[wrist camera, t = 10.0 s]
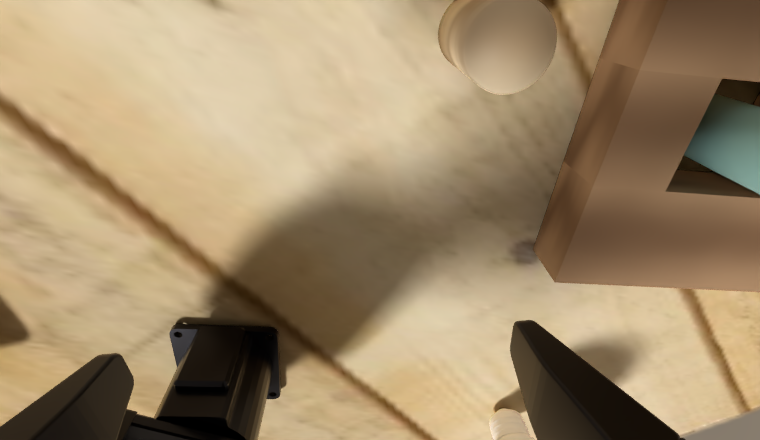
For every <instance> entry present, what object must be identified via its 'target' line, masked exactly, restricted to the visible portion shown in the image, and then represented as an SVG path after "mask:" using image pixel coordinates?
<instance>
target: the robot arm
mask: <svg viewBox="0 0 760 440" xmlns="http://www.w3.org/2000/svg"><path fill="white" fill-rule="evenodd" d="M179 332H180V333H179ZM269 335H272V336H269ZM170 338H171V343H172V347H173V351H174V356H175V360H176V365H177V370H176V372H175V374H174V376H173V378H172V380H171V383H170V385H169V387H168V389H167V391H166V393H165V395H164V397H163V400H162V402H161V404H160V406H159V408H158V410H157V412H156V414H155V417H154V418H151V417H147V416H143V415H139V414H137V412H136V411H132V410H128V409H127V405H128V402H129V399H130V396H131V393H132V390H133V385H134V379H133V376H132V374H131V372H130V370H129V368H128V366H127V364H126V363H125V361H124V359H123V357H122V356H121V355H120V354H117V353H113V354H102V355H99V356H97V357H95V358H94V359H92V360H91V361H90V362H88V363H87V364H85V365H84V366H83V367H81V368H80V369H79V370H77V371H76V372H75V373H73V374H72V375H70V376H69V377H68V378H66V379H65V380H64V381H62V382H61V383H60V384H58V385H57V386H55V387H54V388H53V389H51V390H50V391H49V392H47V393H46V394H45V395H43V396H42V397H40V398H39V399H38V400H36V401H35V402H34V403H32V404H31V405H30V406H28V407H27V408H25V409H24V410H23V411H21V412H20V413H19V414H17V415H16V416H15V417H13V418H12V419H10V420H9V421H8V422H6V423H5V424H4V425H2V426H1V427H0V440H258V435H259V431H260V426H261V422H262V417H263V413H264V408H265V404H266V399H276V398H278V397H279V396H280V392H281V378H280V353H279V332H278V330H277V329H275V328H272V327H251V326H223V325H194V324H176V325H174V326H173V327H172V329H171V331H170ZM510 352H511V357H512V361H513V364H514V368H515V371H516V375H517V378H518V382H519V385H520V389H521V392H522V396H523V399H524V403H525V406H526V409H527V413H528V416H529V419H530V422H531V425H532V427H533V430H534V433H535V435H536V438H537V440H685V439H684V438H680V436H679V434H678V433H676V432H675V431H674V430H672V429H671V428H670V427H669V426H667V425H666V424H665V423H664V422H662V421H661V420H660V419H658V418H657V417H656V416H655V415H653V414H652V413H651V412H650V411H648V410H647V409H646V408H644V407H643V406H642V405H641V404H639V403H638V402H637V401H635V400H634V399H633V398H632V397H630V396H629V395H628V394H627V393H625V392H624V391H623V390H621V389H620V388H619V387H618V386H616V385H615V384H614V383H613V382H611V381H610V380H609V379H607V378H606V377H605V376H604V375H602V374H601V373H600V372H599V371H597V370H596V369H595V368H593V367H592V366H591V365H590V364H588V363H587V362H586V361H585V360H583V359H582V358H581V357H579V356H578V355H577V354H576V353H574V352H573V351H572V350H570V349H569V348H568V347H567V346H565V345H564V344H563V343H562V342H560V341H559V340H558V339H556V338H555V337H554V336H553V335H551V334H550V333H549V332H548V331H546V330H545V329H544V328H542V327H541V326H540V325H539V324H537V323H536V322H534V321H532V320H526V321H517V322H515V323H514V325H513V331H512V338H511V345H510Z"/></svg>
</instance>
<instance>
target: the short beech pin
mask: <svg viewBox="0 0 760 440" xmlns="http://www.w3.org/2000/svg"><path fill="white" fill-rule="evenodd" d="M438 40H439V45H440V49H441V51H442V53H443V55H444V56H445V58H446V59H447V60H448V61H449V62H450V63H451V64H453V65H454V66H455V67H456V68H458V69H459V70H460V71H461V72H462V73H464V74H465V75H466V76H467V77H468V78H470V79H471V80H472V81H473V82H474V83H476V84H477V85H478V86H479V87H481V88H482V89H484V90H485V91H488V92H490V93H493V94H498V95H508V94H513V93H517V92H520V91H522V90H524V89H526V88H528V87H529V86H531V85H532V84H534V83H535V82H536V81H537V80H538V79H539V78H540V77H541V76H542V75H543V74H544V72H545V71H546V69H547V68H548V66H549V65H550V62H551V60H552V58H553V55H554V53H555V48H556V42H557V31H556V25H555V22H554V19H553V17H552V15H551V13H550V11H549V10H548V9H547V8H546V6H545V5H543V4H542V3H541V2H540V1H538V0H455V1H454V2H453V3H452V4H451V5H450V6H449V7H448V9H447V10H446V11H445V13H444V15H443V17H442V19H441V22H440V25H439V32H438Z"/></svg>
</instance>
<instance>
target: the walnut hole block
mask: <svg viewBox="0 0 760 440" xmlns="http://www.w3.org/2000/svg"><path fill="white" fill-rule="evenodd" d="M722 78H723V79H733V80H743V81H753V82H760V0H619V3H618V6H617V9H616V12H615V15H614V18H613V20H612V23H611V26H610V29H609V32H608V35H607V38H606V41H605V44H604V46H603V49H602V52H601V55H600V58H599V61H598V64H597V67H596V69H595V72H594V75H593V78H592V81H591V84H590V87H589V90H588V92H587V95H586V98H585V101H584V104H583V107H582V110H581V113H580V116H579V118H578V121H577V124H576V127H575V130H574V133H573V136H572V139H571V141H570V144H569V147H568V150H567V153H566V156H565V159H564V162H563V164H562V167H561V170H560V173H559V176H558V179H557V182H556V185H555V187H554V190H553V193H552V196H551V199H550V202H549V205H548V208H547V211H546V213H545V216H544V219H543V222H542V225H541V228H540V231H539V234H538V236H537V239H536V242H535V245H534V248H533V250H534V252H535V253H536V255H537V256H538V258H539V259H540V261H541V262H542V264H543V265H544V267H545V268H546V270H547V271H548V273H549V274H550V276H551V277H552V279H553V280H554V282H559V283H580V284H601V285H622V286H643V287H664V288H685V289H706V290H727V291H748V292H760V194H758V193H756V192H754V191H752V190H750V189H748V188H746V187H744V186H742V185H740V184H738V183H736V182H734V181H732V180H731V179H729V178H727V177H725V176H723V175H721V174H719V173H717V172H715V173H710V172H697V171H683V170H676V169H677V167H678V165H679V163H680V161H681V159H682V157H683V155H684V153H685V151H686V149H687V147H688V146H689V144H690V142H691V140H692V138H693V136H694V134H695V132H696V130H697V128H698V126H699V124H700V122H701V120H702V118H703V116H704V114H705V112H706V110H707V108H708V106H709V104H710V102H711V100H712V98H713V96H714V94H715V92H716V90H717V88H718V86H719V84H720V82H721V80H722ZM753 105H755V106H759V107H760V93H759V95H758V97H757V99H756V101H755V102H754V104H753Z"/></svg>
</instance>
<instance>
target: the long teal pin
mask: <svg viewBox="0 0 760 440" xmlns="http://www.w3.org/2000/svg"><path fill="white" fill-rule="evenodd" d="M684 156H686V157H688V158H690V159H692V160H694V161H695V162H697V163H699V164H701V165H703V166H705V167H707V168H709V169H711V170H713V171H715V172H717V173H719V174H721V175H723V176H725V177H727V178H729V179H731V180H732V181H734V182H736V183H738V184H740V185H742V186H744V187H746V188H748V189H750V190H752V191H754V192H756V193H758V194H760V107H759V106H755V105H752V104H748V103H745V102H742V101H738V100H735V99H731V98H728V97H725V96H721V95H718V94H714V96H713V98H712V100H711V102H710V104H709V106H708V108H707V110H706V112H705V114H704V116H703V118H702V120H701V122H700V124H699V126H698V128H697V130H696V132H695V134H694V136H693V138H692V140H691V142H690V144H689V146H688V147H687V149H686V151H685V153H684Z"/></svg>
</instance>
